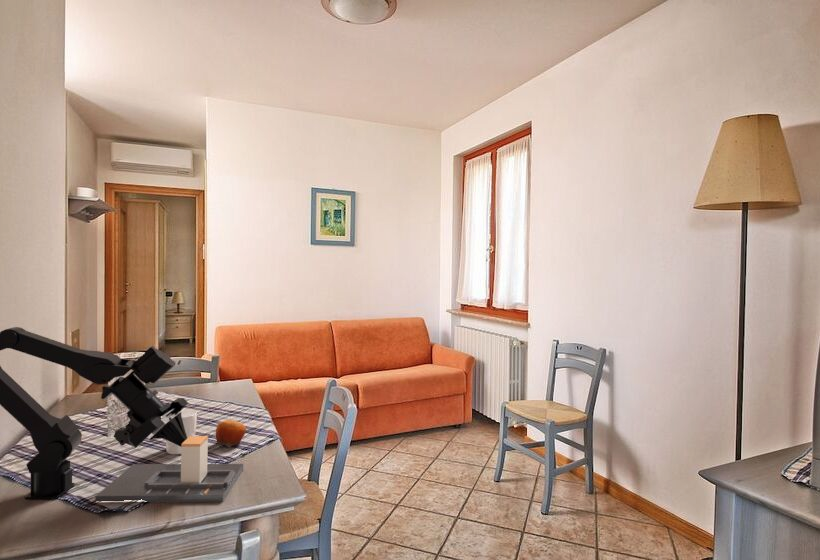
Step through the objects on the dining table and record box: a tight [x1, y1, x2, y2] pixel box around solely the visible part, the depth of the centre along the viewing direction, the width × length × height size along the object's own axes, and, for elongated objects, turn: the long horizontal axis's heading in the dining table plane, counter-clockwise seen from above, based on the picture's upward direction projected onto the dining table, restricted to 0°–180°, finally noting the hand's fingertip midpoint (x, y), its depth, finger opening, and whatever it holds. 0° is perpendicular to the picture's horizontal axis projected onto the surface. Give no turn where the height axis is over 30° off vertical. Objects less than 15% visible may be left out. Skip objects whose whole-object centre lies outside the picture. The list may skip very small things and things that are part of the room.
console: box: [94, 463, 244, 504], centre depth 108 cm, size 26×16×2 cm, turn 95°
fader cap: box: [180, 435, 209, 483], centre depth 107 cm, size 4×5×9 cm
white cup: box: [165, 408, 198, 455], centre depth 128 cm, size 8×8×10 cm
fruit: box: [215, 419, 247, 450], centre depth 133 cm, size 8×8×8 cm
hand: (187, 446), depth 109 cm, fingers closed
